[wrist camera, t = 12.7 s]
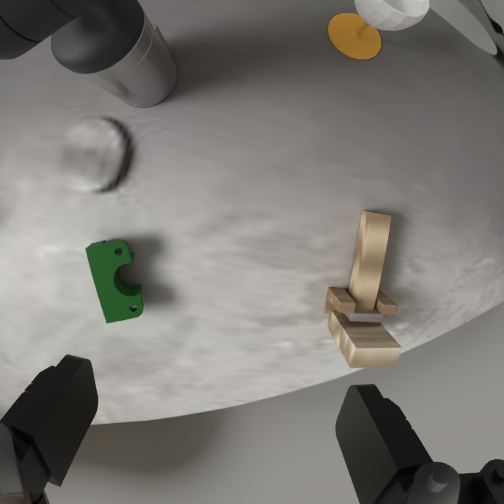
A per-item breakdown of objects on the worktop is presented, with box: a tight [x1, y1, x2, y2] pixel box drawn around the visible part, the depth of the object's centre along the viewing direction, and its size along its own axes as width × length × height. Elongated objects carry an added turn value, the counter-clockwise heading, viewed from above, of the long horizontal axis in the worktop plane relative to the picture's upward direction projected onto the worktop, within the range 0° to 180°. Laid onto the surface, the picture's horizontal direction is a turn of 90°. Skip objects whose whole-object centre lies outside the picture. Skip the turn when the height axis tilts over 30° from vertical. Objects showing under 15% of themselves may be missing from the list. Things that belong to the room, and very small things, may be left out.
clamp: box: [86, 240, 143, 323], centre depth 42 cm, size 12×6×9 cm, turn 2°
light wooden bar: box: [344, 211, 391, 322], centre depth 43 cm, size 15×5×6 cm, turn 173°
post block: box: [324, 287, 402, 368], centre depth 42 cm, size 7×9×12 cm
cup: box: [328, 0, 430, 60], centre depth 29 cm, size 9×9×16 cm
